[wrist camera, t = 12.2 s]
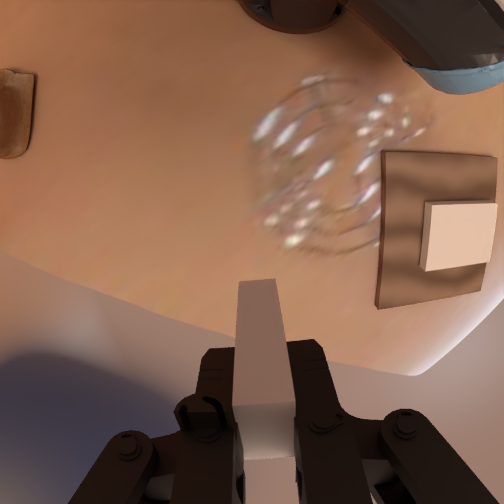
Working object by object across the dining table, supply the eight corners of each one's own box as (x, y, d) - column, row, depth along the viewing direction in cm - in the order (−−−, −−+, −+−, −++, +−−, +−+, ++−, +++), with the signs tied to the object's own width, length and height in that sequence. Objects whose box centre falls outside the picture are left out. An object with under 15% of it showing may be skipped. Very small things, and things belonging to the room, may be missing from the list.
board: (381, 151, 39) (385, 152, 37) (492, 156, 38) (497, 158, 37) (374, 304, 47) (378, 309, 46) (476, 287, 47) (480, 290, 46)
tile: (432, 205, 38) (497, 203, 37) (423, 201, 40) (489, 199, 39) (425, 271, 41) (489, 261, 41) (418, 265, 43) (481, 256, 43)
